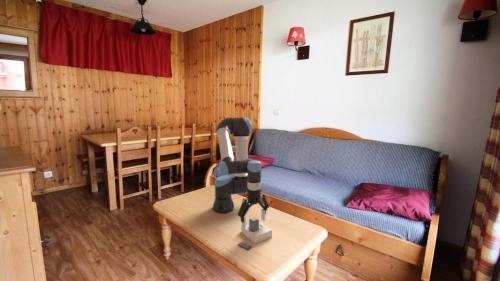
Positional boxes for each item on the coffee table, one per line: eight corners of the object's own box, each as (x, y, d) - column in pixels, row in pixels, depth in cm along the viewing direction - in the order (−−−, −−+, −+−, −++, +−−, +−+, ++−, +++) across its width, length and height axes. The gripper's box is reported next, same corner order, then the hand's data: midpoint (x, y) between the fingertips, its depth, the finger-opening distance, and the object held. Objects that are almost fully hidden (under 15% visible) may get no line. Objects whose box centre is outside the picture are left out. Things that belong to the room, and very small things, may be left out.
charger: (249, 235, 141) (249, 218, 139) (254, 232, 144) (254, 216, 142) (253, 238, 138) (253, 221, 136) (258, 235, 140) (259, 219, 139)
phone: (237, 246, 132) (237, 244, 131) (242, 243, 134) (242, 241, 134) (247, 251, 127) (247, 249, 127) (251, 248, 130) (252, 246, 130)
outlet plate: (241, 231, 145) (241, 225, 144) (257, 225, 151) (257, 219, 150) (255, 243, 133) (255, 236, 132) (271, 236, 140) (272, 229, 139)
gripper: (238, 195, 126) (238, 233, 130) (275, 185, 140) (274, 220, 144) (231, 190, 132) (231, 226, 136) (267, 182, 146) (266, 214, 150)
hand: (253, 223), depth 140 cm, fingers open, 13 cm apart
